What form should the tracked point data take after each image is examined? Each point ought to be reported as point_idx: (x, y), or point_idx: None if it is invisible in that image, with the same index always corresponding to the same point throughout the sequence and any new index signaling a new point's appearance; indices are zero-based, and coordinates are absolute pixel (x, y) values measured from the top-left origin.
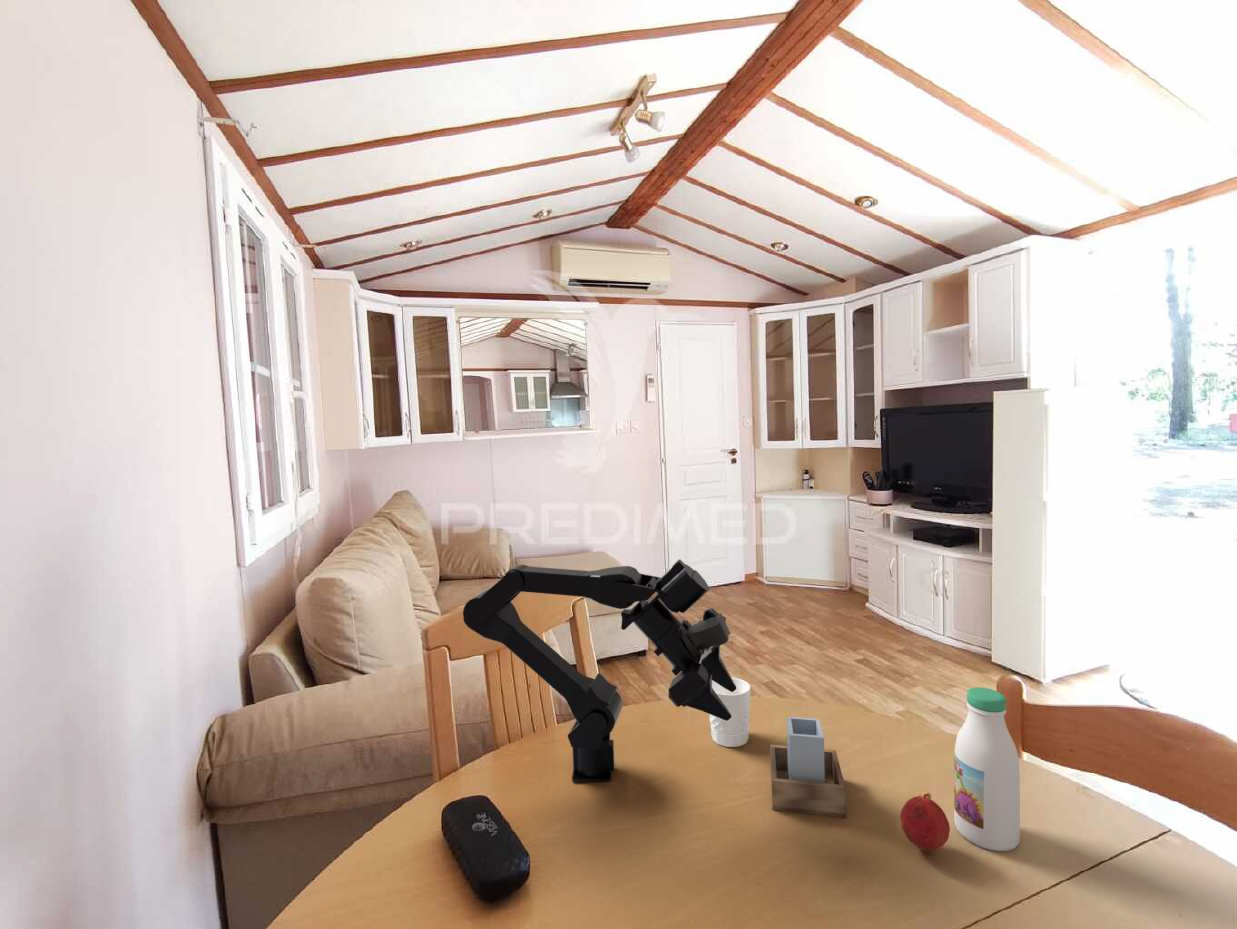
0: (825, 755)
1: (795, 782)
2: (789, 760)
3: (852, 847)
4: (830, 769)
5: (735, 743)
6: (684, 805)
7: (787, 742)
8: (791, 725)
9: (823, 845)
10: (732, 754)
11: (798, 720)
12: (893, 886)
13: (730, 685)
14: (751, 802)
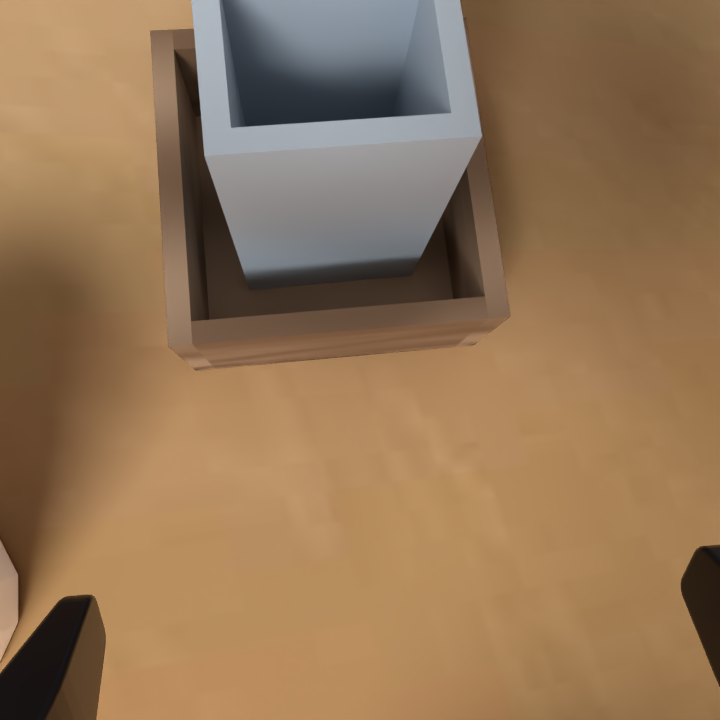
0: (178, 89)
1: (491, 213)
2: (405, 220)
3: (585, 89)
4: (190, 107)
5: (3, 564)
6: (562, 709)
7: (248, 227)
8: (338, 124)
9: (608, 173)
10: (88, 566)
11: (226, 85)
12: (708, 2)
13: (81, 680)
14: (452, 429)
